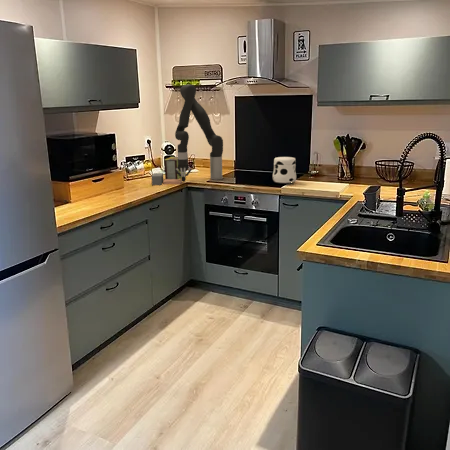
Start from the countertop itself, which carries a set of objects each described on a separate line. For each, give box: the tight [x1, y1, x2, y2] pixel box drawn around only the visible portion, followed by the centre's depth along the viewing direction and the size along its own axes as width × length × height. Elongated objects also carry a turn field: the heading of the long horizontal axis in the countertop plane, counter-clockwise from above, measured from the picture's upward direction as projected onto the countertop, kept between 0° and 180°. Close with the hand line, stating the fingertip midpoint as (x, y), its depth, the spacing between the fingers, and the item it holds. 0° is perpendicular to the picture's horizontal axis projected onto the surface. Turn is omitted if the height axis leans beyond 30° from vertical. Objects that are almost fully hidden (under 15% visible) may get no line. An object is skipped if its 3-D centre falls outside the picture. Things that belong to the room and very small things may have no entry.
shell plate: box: [162, 178, 183, 185], centre depth 337 cm, size 13×8×2 cm, turn 86°
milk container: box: [272, 156, 297, 185], centre depth 329 cm, size 17×17×18 cm
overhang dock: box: [150, 172, 165, 186], centre depth 337 cm, size 7×12×6 cm, turn 0°
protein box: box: [163, 156, 184, 180], centre depth 355 cm, size 10×15×16 cm
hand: (183, 181), depth 337 cm, fingers closed
